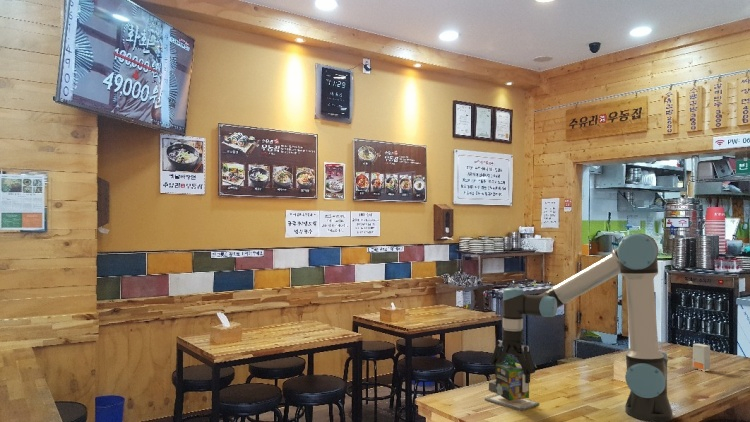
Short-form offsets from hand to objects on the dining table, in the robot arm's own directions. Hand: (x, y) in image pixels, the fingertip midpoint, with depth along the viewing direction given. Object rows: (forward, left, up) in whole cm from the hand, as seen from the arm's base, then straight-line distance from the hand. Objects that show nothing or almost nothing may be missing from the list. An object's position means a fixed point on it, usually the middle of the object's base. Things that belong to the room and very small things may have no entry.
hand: (512, 387), depth 209 cm
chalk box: (0, 0, -3) cm, 3 cm away
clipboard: (0, 0, -5) cm, 5 cm away
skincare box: (-29, -112, -6) cm, 116 cm away
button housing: (+11, -10, -5) cm, 16 cm away
